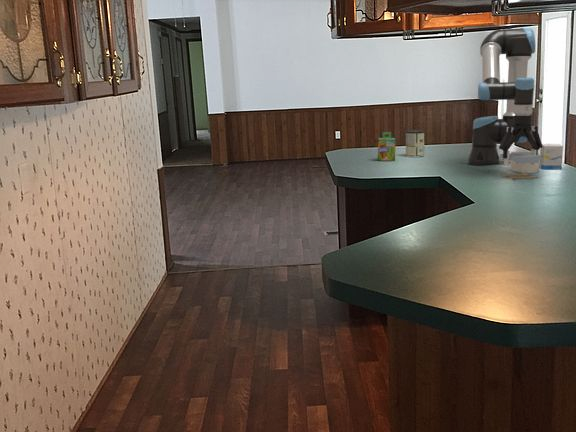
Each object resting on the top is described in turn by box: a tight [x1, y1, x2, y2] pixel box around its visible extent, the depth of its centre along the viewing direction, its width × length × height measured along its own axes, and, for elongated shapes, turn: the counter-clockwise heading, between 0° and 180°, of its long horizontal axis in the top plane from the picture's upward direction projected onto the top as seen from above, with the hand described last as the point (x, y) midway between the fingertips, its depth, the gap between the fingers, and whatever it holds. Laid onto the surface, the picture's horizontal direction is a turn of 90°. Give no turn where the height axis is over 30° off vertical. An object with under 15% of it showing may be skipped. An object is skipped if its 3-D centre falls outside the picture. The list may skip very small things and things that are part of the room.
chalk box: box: [377, 131, 397, 162], centre depth 333 cm, size 9×9×15 cm
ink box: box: [539, 143, 564, 171], centre depth 291 cm, size 9×8×12 cm
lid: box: [499, 152, 541, 164], centre depth 271 cm, size 12×12×3 cm
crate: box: [509, 150, 540, 174], centre depth 285 cm, size 10×8×9 cm
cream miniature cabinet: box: [405, 129, 426, 158], centre depth 346 cm, size 10×10×14 cm
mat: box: [501, 173, 538, 180], centre depth 273 cm, size 10×11×1 cm
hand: (519, 165), depth 272 cm, fingers closed on lid, 12 cm apart
